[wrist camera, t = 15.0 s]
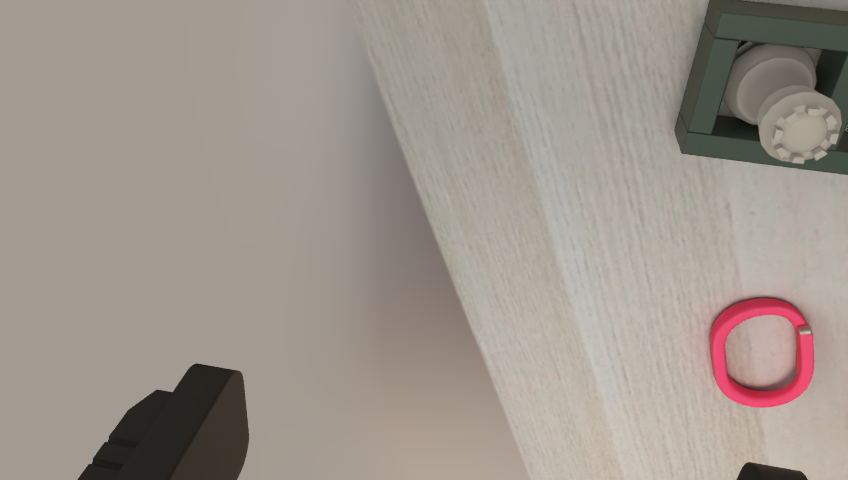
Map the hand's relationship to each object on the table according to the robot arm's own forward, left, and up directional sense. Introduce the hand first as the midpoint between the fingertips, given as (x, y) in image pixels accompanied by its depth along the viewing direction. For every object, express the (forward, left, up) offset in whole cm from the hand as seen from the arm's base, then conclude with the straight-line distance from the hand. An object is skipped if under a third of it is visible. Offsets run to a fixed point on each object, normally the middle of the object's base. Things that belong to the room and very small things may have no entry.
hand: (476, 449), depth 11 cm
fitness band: (+24, -10, -30) cm, 40 cm away
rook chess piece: (+12, +3, -30) cm, 33 cm away
